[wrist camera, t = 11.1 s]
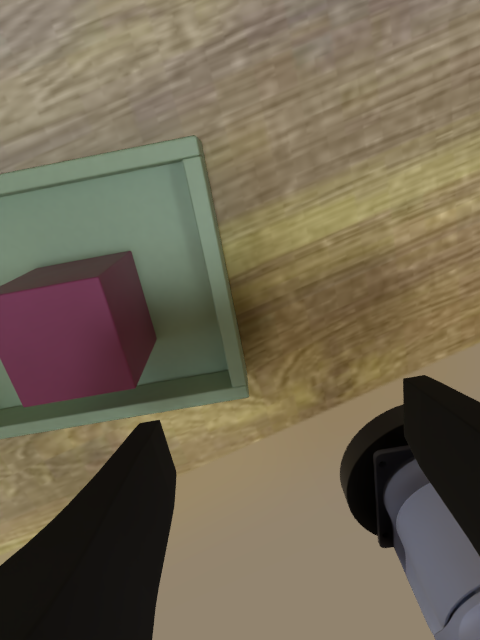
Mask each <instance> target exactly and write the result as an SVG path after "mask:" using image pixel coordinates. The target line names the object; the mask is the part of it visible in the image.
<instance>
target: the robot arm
mask: <svg viewBox="0 0 480 640" xmlns="http://www.w3.org/2000/svg"><path fill="white" fill-rule="evenodd" d="M403 392H404V436H405V438H406V440H407V442H408V444H409V445H406V446H400V447H394V448H388V449H381V450H377V451H376V452H375V453H374V454H373V464H374V482H375V499H376V517H377V534H378V543H379V545H380V547H382V548H391V547H394V549H395V551H396V554H397V556H398V558H399V560H400V563H401V565H402V567H403V569H404V572H405V574H406V576H407V579H408V581H409V583H410V586H411V588H412V590H413V592H414V595H415V597H416V599H417V601H418V604H419V606H420V608H421V611H422V613H423V615H424V618H425V620H426V622H427V624H428V626H429V628H430V630H431V632H432V633H433V635H434V637H435V640H480V402H478V401H476V400H474V399H472V398H470V397H468V396H466V395H464V394H462V393H460V392H458V391H456V390H454V389H452V388H450V387H448V386H447V385H444V384H443V383H441V382H438V381H436V380H434V379H432V378H430V377H428V376H425V375H423V376H417V377H411V378H405V379H403ZM380 462H382V463H380ZM175 488H176V470H175V466H174V463H173V460H172V457H171V454H170V451H169V448H168V445H167V441H166V438H165V435H164V432H163V429H162V426H161V423H160V420H156V421H150V422H145V423H140V424H139V425H138V426H137V427H136V428H135V429H134V430H133V431H132V433H131V434H130V435H129V436H128V437H127V439H126V440H125V441H124V442H123V443H122V445H121V446H120V447H119V448H118V449H117V451H116V452H115V453H114V454H113V455H112V456H111V458H110V459H109V460H108V461H107V462H106V463H105V465H104V466H103V467H102V468H101V469H100V471H99V472H98V473H97V474H96V475H95V476H94V477H93V478H92V479H91V481H90V482H89V483H88V484H87V485H86V486H85V487H84V488H83V489H82V490H81V491H80V492H79V493H78V495H77V496H76V497H75V498H74V499H73V500H72V501H71V502H70V503H69V504H68V505H67V506H66V507H65V508H64V509H63V510H62V511H61V512H60V513H59V514H58V515H57V516H56V517H55V518H54V519H53V520H52V521H51V522H50V523H49V524H48V525H47V526H46V527H45V528H43V529H42V530H41V531H40V532H39V533H38V534H37V535H36V536H35V537H34V538H33V539H31V540H30V541H29V542H28V543H27V544H26V545H25V546H23V547H22V548H21V549H20V550H19V551H17V552H16V553H15V554H14V555H13V556H11V557H10V558H9V559H8V560H7V561H5V562H4V563H3V564H2V565H1V566H0V640H152V634H153V626H154V616H155V607H156V601H157V594H158V588H159V583H160V578H161V573H162V568H163V562H164V557H165V552H166V547H167V542H168V536H169V532H170V526H171V521H172V515H173V510H174V502H175Z"/></svg>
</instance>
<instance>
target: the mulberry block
mask: <svg viewBox="0 0 480 640" xmlns="http://www.w3.org/2000/svg"><path fill="white" fill-rule="evenodd" d="M156 340H157V337H156V334H155V331H154V327H153V324H152V320H151V317H150V314H149V310H148V307H147V303H146V300H145V296H144V293H143V290H142V286H141V283H140V279H139V276H138V273H137V269H136V266H135V262H134V259H133V255H132V252H131V251H126V252H120V253H115V254H110V255H104V256H99V257H94V258H88V259H83V260H78V261H72V262H67V263H62V264H56V265H51V266H46V267H40V268H36V269H34V270H32V271H30V272H28V273H26V274H24V275H22V276H20V277H18V278H16V279H14V280H12V281H10V282H8V283H6V284H4V285H1V286H0V359H1V362H2V364H3V366H4V368H5V370H6V372H7V374H8V376H9V378H10V380H11V382H12V385H13V387H14V389H15V391H16V393H17V395H18V397H19V399H20V401H21V403H22V405H23V407H30V406H36V405H42V404H48V403H54V402H60V401H65V400H71V399H77V398H83V397H89V396H95V395H100V394H106V393H112V392H118V391H124V390H130V389H135V388H136V386H137V384H138V382H139V379H140V377H141V375H142V372H143V370H144V368H145V366H146V363H147V361H148V359H149V356H150V354H151V352H152V350H153V347H154V345H155V343H156Z"/></svg>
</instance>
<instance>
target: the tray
mask: <svg viewBox="0 0 480 640" xmlns="http://www.w3.org/2000/svg"><path fill="white" fill-rule="evenodd" d="M126 251H131V252H132V255H133V259H134V262H135V266H136V269H137V273H138V276H139V279H140V283H141V286H142V290H143V293H144V296H145V300H146V303H147V307H148V310H149V314H150V317H151V320H152V324H153V327H154V331H155V334H156V337H157V340H156V343H155V345H154V347H153V350H152V352H151V354H150V356H149V359H148V361H147V363H146V366H145V368H144V370H143V372H142V375H141V377H140V379H139V382H138V384H137V386H136V388H135V389H130V390H124V391H118V392H112V393H106V394H100V395H95V396H89V397H83V398H77V399H71V400H65V401H60V402H54V403H48V404H42V405H36V406H30V407H23V405H22V403H21V401H20V399H19V397H18V395H17V393H16V391H15V389H14V387H13V385H12V382H11V380H10V378H9V376H8V374H7V372H6V370H5V368H4V366H3V364H2V362H1V359H0V439H4V438H10V437H16V436H22V435H28V434H34V433H40V432H46V431H52V430H58V429H64V428H70V427H76V426H82V425H88V424H94V423H99V422H105V421H111V420H117V419H123V418H129V417H135V416H141V415H147V414H153V413H159V412H165V411H171V410H177V409H183V408H189V407H195V406H201V405H207V404H213V403H218V402H224V401H230V400H236V399H242V398H248V397H249V391H248V379H247V370H246V365H245V360H244V355H243V350H242V345H241V340H240V335H239V330H238V325H237V320H236V315H235V310H234V305H233V299H232V294H231V289H230V284H229V279H228V274H227V269H226V264H225V259H224V254H223V249H222V244H221V239H220V234H219V229H218V224H217V219H216V214H215V209H214V204H213V199H212V194H211V189H210V184H209V179H208V174H207V169H206V164H205V159H204V153H203V148H202V143H201V141H200V140H199V139H198V138H197V137H196V136H195V135H193V136H188V137H183V138H178V139H173V140H168V141H163V142H158V143H153V144H148V145H143V146H138V147H133V148H128V149H123V150H118V151H113V152H108V153H103V154H98V155H93V156H88V157H83V158H78V159H73V160H68V161H63V162H58V163H53V164H48V165H43V166H38V167H33V168H28V169H23V170H18V171H13V172H8V173H3V174H0V286H1V285H4V284H6V283H8V282H10V281H12V280H14V279H16V278H18V277H20V276H22V275H24V274H26V273H28V272H30V271H32V270H34V269H36V268H40V267H46V266H51V265H56V264H62V263H67V262H72V261H78V260H83V259H88V258H94V257H99V256H104V255H110V254H115V253H120V252H126Z"/></svg>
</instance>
